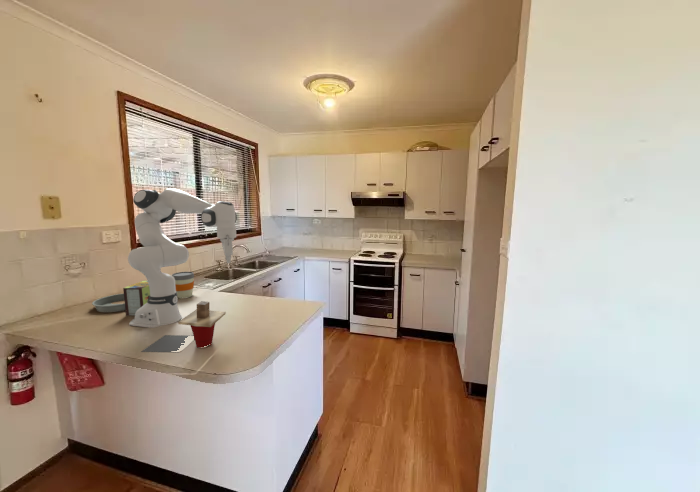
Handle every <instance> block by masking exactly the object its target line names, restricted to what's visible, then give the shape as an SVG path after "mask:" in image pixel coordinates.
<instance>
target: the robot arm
mask: <svg viewBox="0 0 700 492" xmlns="http://www.w3.org/2000/svg"><path fill="white" fill-rule="evenodd" d="M132 200H133V201H132V202H133V203H134V205H135V206H136V207H138V209H141V210H142V211H143V212H140V213H138V214H137V215H136V216H135V217H134V218H135V219H134V227H135V231H136V235H137V237H138V239H139V242H140V245H142V247H137V248H132V250H130V251H129V253H128V256H127V261H128V264H129V266H130V267H132V268H133V269H134V270H136V271H138V272H139V273H141V274H143V275H144V276H145V278H146V281H148V283H149V289H150V295H149V296H148V297H146V299H148V301H147V303H146V304H144V305H143V306H142V307H141V308H139V309H138V310H137V311H136V313H135V316H134V318H133V319H132V320H131V321H130V322H129V325H128V326H134V327H143V328H158V327H161V326H166V325H171V324H173V323H177V322H179V321H180V320H182V319H183V318H182V315H181V313H180V308H179V306H178V299H179V298H177V292H176V286H175V279H174V277H173V276H172V274H169V273H166V272H162V268H167V267H174V266H179V265H182V264H185V263H187V261H188V260H189V256H190V251H189V249H188V248H187V247H186V245H184V244H181V243H177V242H175V241H173V240H172V239H170V238H169V237H168V236H166V234H165V232H164V230H163V229H162V225H161V224H164V223H166V222H169V221H171V220H172V219H173V218H175V216H176V214H177V212H178V213H182V214H201V215H200V219H201V222H202V224H203V225H204V226H205V227H210V228H216V237H217V239H219V241H220V242H221V246H222V251H223V253H224V256H225V260H226V264H231V258H232V256H233V254H234V252H233V251H234V249H233V242H234V241H235V239H236V238H237V226H236V223H237V220H238V215H237V213H236V209H235V206H234V204H233V202H230V201H225V200H224V201H223V200H220V201H217V202H216V203H215V204H214V203H211V202H209V201H205V200H204V199H200V198H199V197H197V196H194V195H191V194H189V193H188V192H187V191H186V192H185V191H183V190H181V189H177V188H171V187H169V188H165V189H164V190H163V191H162V192H158V190H155V189H152V190H151V189H141V190H138V191H137V192H136V193H135V194H134V195H133V199H132ZM146 299H145V300H146Z"/></svg>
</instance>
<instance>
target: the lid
mask: <svg viewBox="0 0 700 492" xmlns="http://www.w3.org/2000/svg"><path fill="white" fill-rule="evenodd" d="M226 313H227V312H226V311H220V310H210V301H204V300H201V301H199V302H198V303H196V309H195V310H194V311H192V312H190V313H189V314H188V315H186V316H184V317H183V318H181V319H180V320H179V321H177V322H178V325H182V326H183V325H184V326H190V325H193V326H204V327H211V326H212V325H214V324H215V325H216V323H217V322H218V321H220V320H221V319H222V318H223V317H224V316H225V315H226Z"/></svg>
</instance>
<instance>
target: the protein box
mask: <svg viewBox="0 0 700 492" xmlns="http://www.w3.org/2000/svg"><path fill="white" fill-rule="evenodd" d="M122 290H123V293H124V303H125V310H124V311H125V316H129V317H130V316H131V317H133V316H134V317H135V313H136V311H137V310H138V309H139V308H141V307H142V306H143V305H144V304H146V303H147V301H148V299H146V297H148V296H149V295H150V289H149V283H148V280H142V281H139V282H136V283H134V284H131V285H127V286H125V287H123V288H122ZM145 299H146V300H145Z"/></svg>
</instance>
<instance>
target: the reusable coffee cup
mask: <svg viewBox="0 0 700 492" xmlns="http://www.w3.org/2000/svg"><path fill="white" fill-rule="evenodd" d="M171 275H172V276H173V277H174V279H175V286H176V292H177V299H187V298H191V297H192V296H193V291H194V287H195V286H194V285H195V280H194V278H195V273H194V272H193V271H180V272H174V273H172V274H171Z"/></svg>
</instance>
